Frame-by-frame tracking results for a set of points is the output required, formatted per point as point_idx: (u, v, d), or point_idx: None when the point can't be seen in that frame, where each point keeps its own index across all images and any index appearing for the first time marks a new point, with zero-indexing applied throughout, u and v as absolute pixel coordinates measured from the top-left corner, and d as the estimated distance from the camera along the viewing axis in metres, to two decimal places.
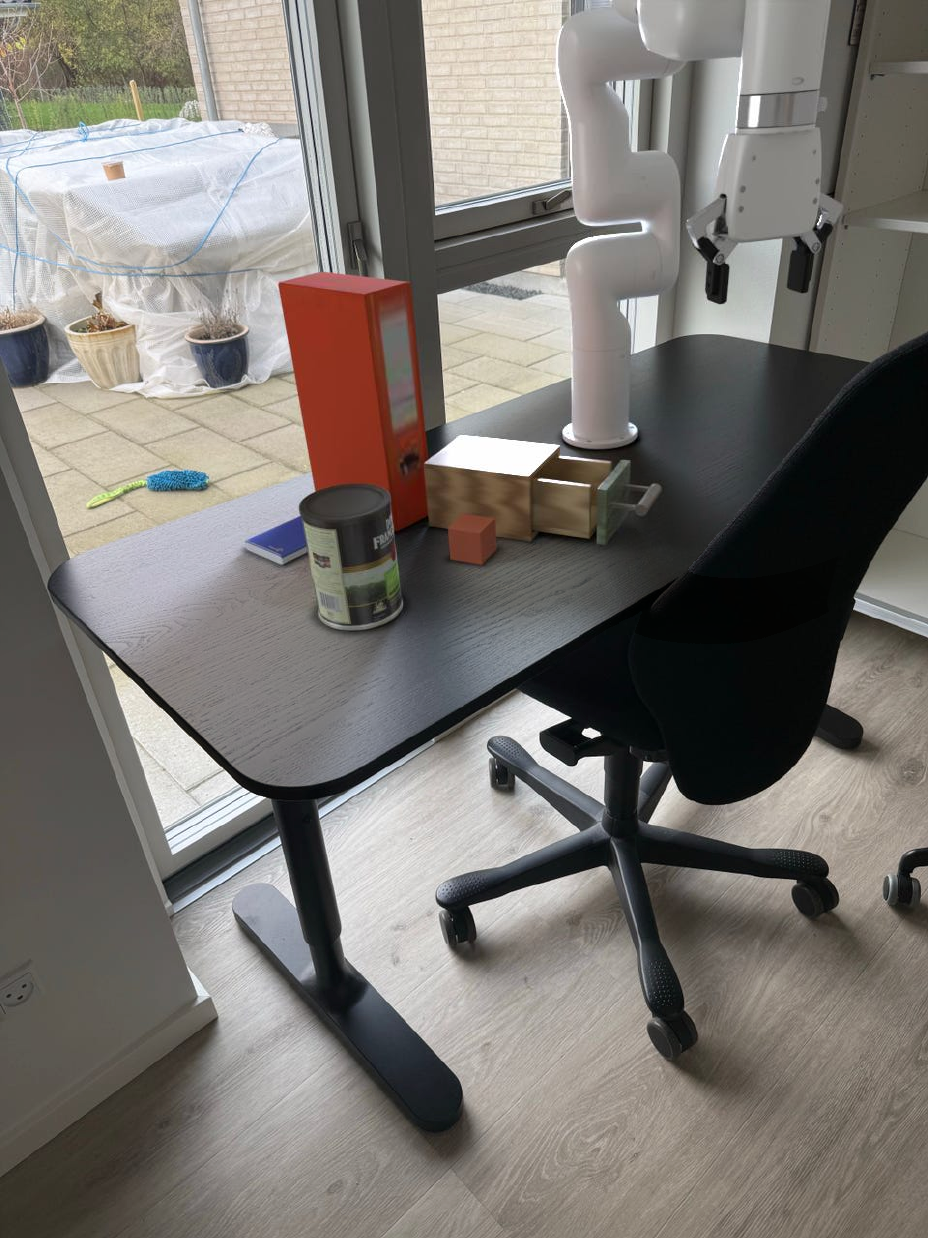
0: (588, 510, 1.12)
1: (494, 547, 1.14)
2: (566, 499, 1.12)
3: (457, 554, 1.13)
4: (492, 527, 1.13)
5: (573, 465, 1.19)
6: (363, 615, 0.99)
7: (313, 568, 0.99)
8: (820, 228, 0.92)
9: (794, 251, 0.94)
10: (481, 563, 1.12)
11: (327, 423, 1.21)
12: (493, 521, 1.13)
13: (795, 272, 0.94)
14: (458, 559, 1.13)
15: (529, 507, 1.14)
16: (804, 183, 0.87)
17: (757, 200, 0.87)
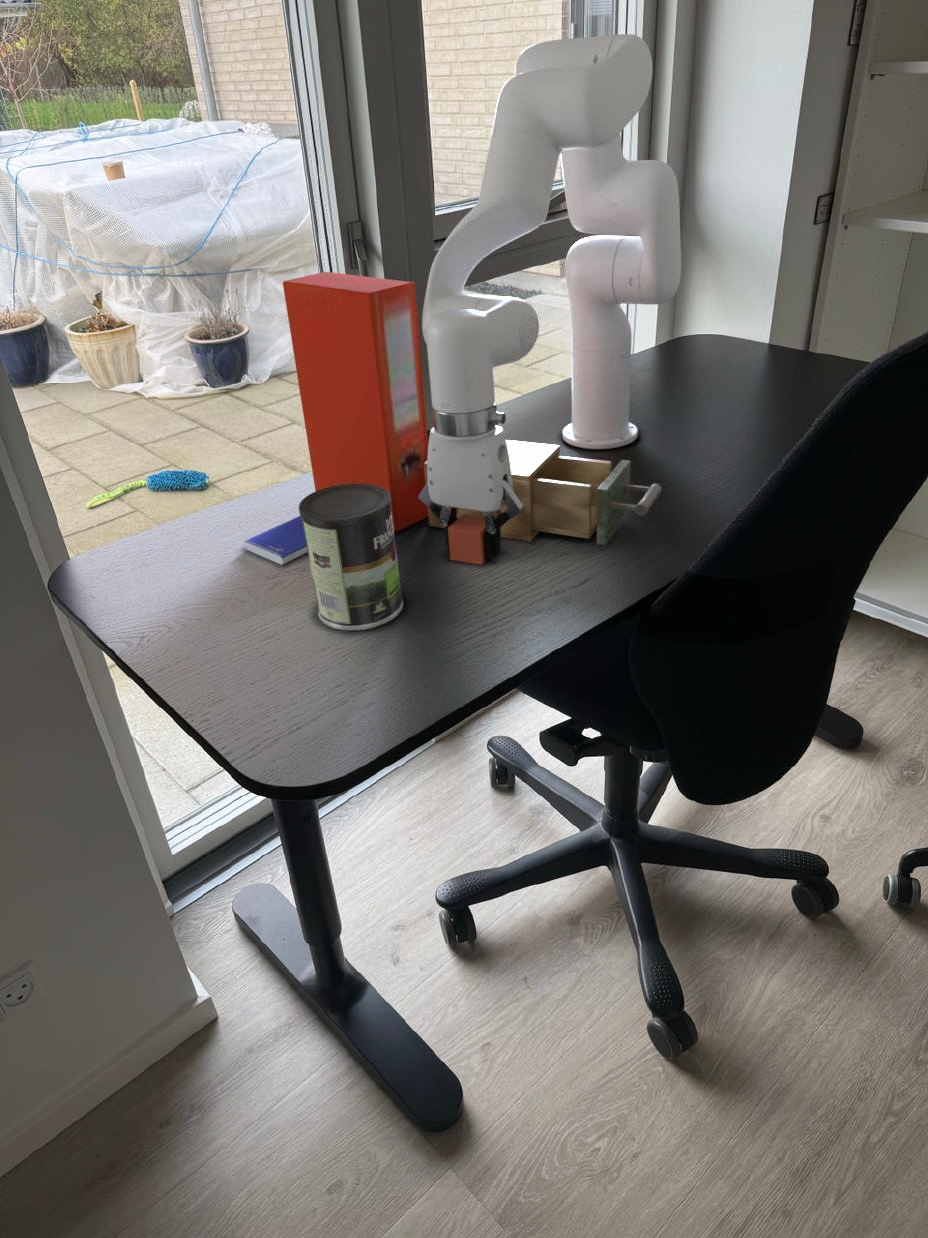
0: (588, 510, 1.12)
1: None
2: (566, 499, 1.12)
3: (457, 554, 1.13)
4: None
5: (573, 465, 1.19)
6: (363, 615, 0.99)
7: (313, 568, 0.99)
8: (499, 516, 1.09)
9: None
10: (481, 563, 1.12)
11: (329, 422, 1.21)
12: None
13: None
14: (458, 559, 1.13)
15: (529, 507, 1.14)
16: (478, 476, 1.05)
17: (442, 480, 1.08)
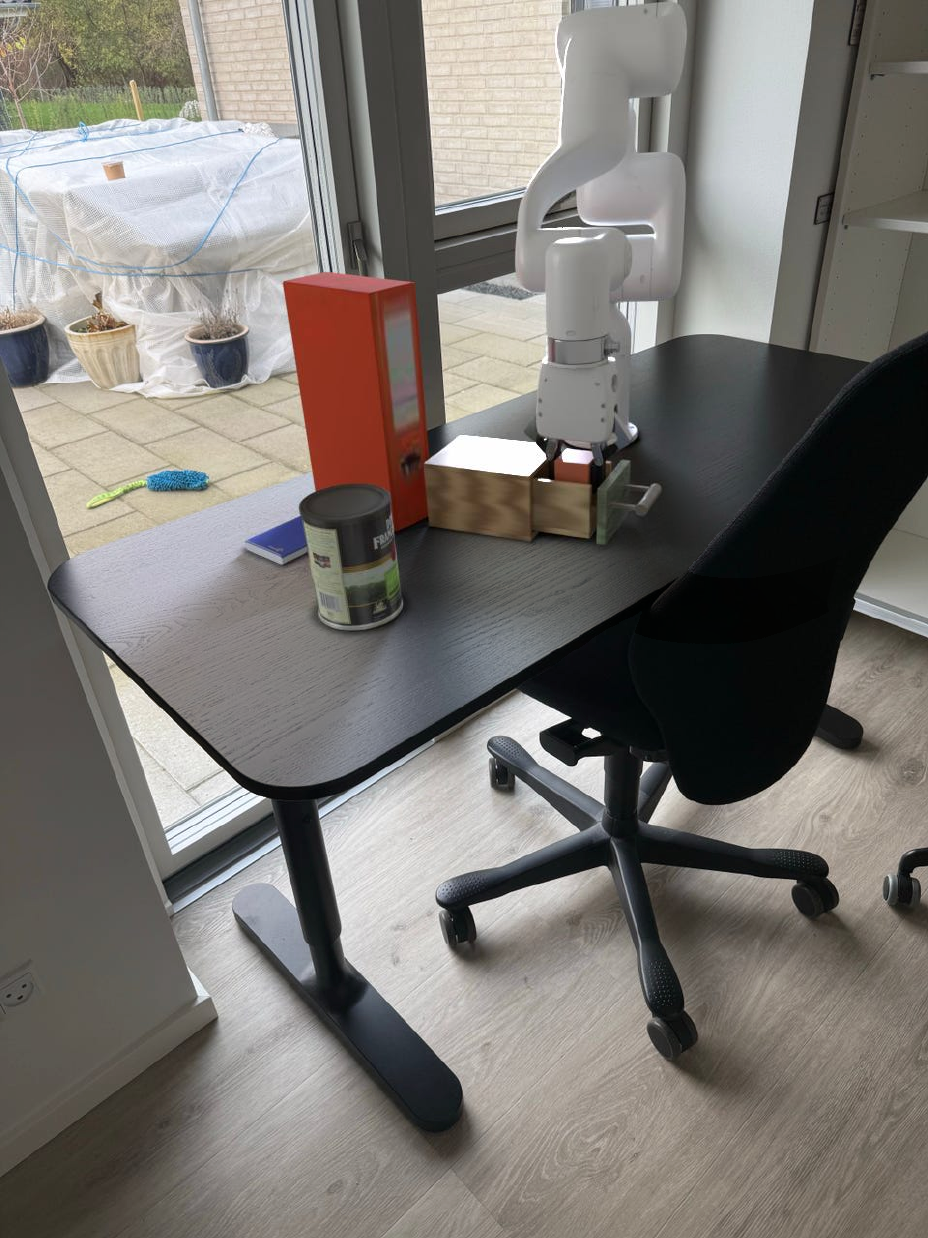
0: (588, 510, 1.12)
1: None
2: (566, 499, 1.12)
3: None
4: None
5: None
6: (363, 615, 0.99)
7: (313, 568, 0.99)
8: (607, 447, 1.10)
9: None
10: None
11: (329, 422, 1.21)
12: None
13: None
14: None
15: (529, 507, 1.14)
16: (590, 405, 1.07)
17: (552, 411, 1.09)
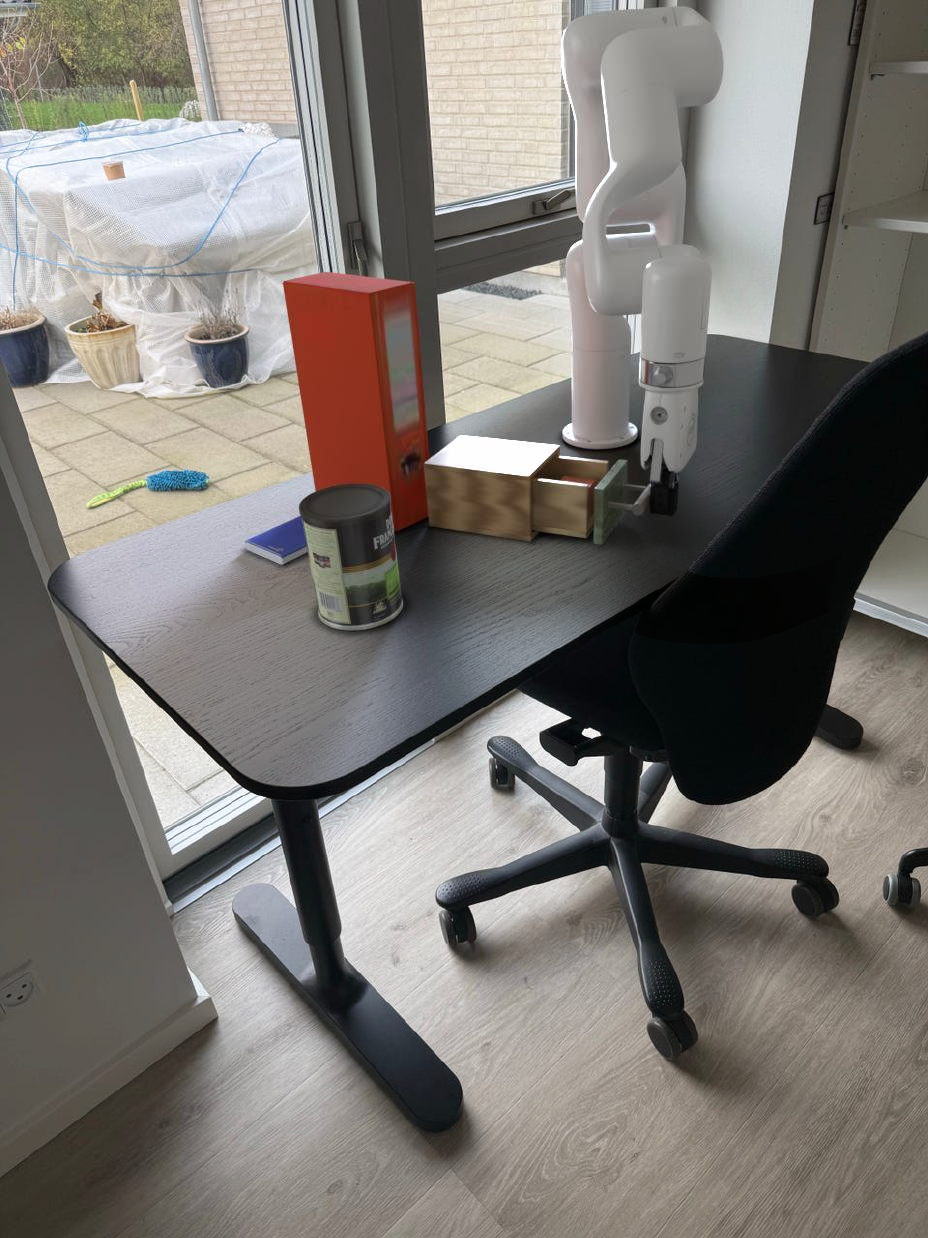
0: (585, 510, 1.12)
1: None
2: (563, 499, 1.12)
3: None
4: (593, 488, 1.16)
5: (570, 464, 1.19)
6: (363, 615, 0.99)
7: (313, 568, 0.99)
8: None
9: None
10: None
11: (329, 422, 1.21)
12: (594, 482, 1.16)
13: None
14: None
15: (529, 507, 1.14)
16: None
17: None
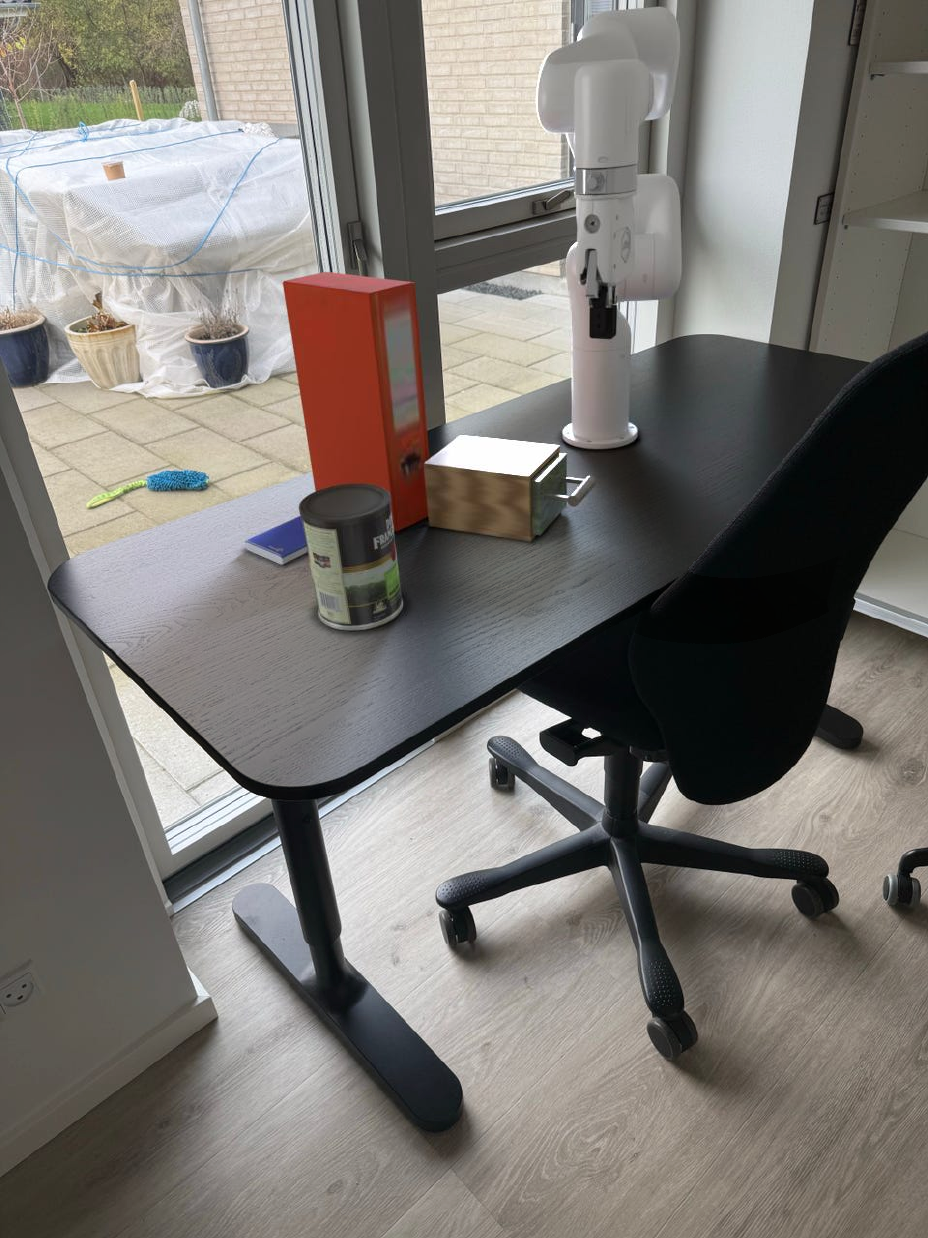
0: None
1: None
2: None
3: None
4: None
5: None
6: (363, 615, 0.99)
7: (313, 568, 0.99)
8: None
9: None
10: None
11: (329, 422, 1.21)
12: (534, 475, 1.20)
13: None
14: None
15: (529, 507, 1.14)
16: None
17: None
